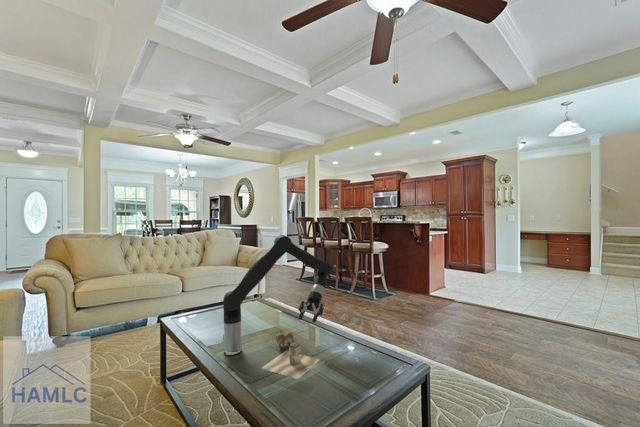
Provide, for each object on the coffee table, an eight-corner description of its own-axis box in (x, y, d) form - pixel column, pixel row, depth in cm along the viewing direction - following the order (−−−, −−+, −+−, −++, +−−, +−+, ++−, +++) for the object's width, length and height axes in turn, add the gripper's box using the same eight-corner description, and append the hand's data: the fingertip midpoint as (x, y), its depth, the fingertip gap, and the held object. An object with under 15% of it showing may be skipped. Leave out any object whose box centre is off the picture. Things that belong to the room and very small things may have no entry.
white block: (289, 363, 145) (289, 345, 145) (294, 359, 148) (293, 342, 148) (296, 365, 143) (295, 346, 143) (300, 361, 146) (300, 343, 146)
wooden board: (261, 369, 141) (261, 368, 141) (285, 351, 158) (285, 350, 158) (298, 380, 130) (298, 379, 130) (320, 360, 148) (320, 359, 148)
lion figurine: (281, 352, 158) (280, 335, 158) (273, 350, 161) (273, 334, 161) (296, 341, 171) (296, 326, 171) (289, 339, 173) (288, 324, 174)
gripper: (303, 289, 167) (292, 315, 157) (324, 291, 160) (315, 319, 150) (308, 296, 172) (298, 321, 162) (329, 298, 165) (320, 325, 155)
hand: (306, 320), depth 156 cm, fingers open, 8 cm apart
